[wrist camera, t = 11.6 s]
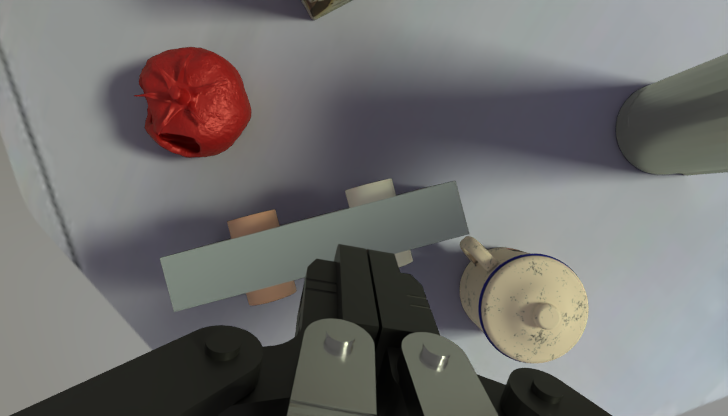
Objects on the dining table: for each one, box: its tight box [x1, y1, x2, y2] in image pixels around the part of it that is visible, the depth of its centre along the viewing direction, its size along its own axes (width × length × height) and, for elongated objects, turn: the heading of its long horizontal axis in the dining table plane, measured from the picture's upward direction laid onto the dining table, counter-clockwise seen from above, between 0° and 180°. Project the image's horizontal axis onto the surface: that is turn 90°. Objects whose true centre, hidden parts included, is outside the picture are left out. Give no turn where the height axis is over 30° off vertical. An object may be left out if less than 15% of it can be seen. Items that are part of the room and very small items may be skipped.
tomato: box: [134, 47, 251, 157], centre depth 41 cm, size 10×10×9 cm
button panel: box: [160, 181, 469, 312], centre depth 40 cm, size 4×22×13 cm, turn 105°
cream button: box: [345, 179, 413, 267], centre depth 38 cm, size 7×4×4 cm, turn 15°
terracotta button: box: [227, 210, 297, 306], centre depth 38 cm, size 7×4×4 cm, turn 15°
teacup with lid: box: [460, 236, 588, 363], centre depth 41 cm, size 12×9×12 cm
